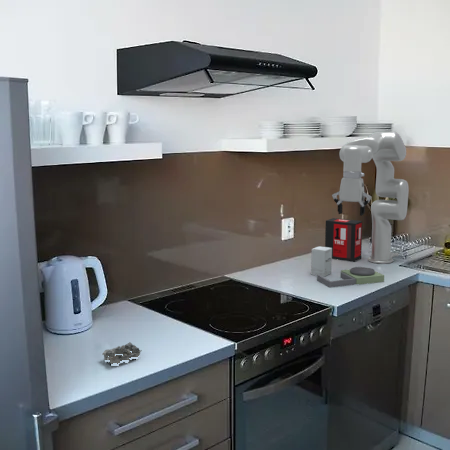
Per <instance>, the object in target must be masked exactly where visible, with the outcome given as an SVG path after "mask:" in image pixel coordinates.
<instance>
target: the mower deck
mask: <svg viewBox="0 0 450 450" xmlns="http://www.w3.org/2000/svg"><path fill="white" fill-rule="evenodd" d="M340 278H341V279H338V280H337V279H335V280H329V279H328V278H326V277H322V276H321V275H316V281H318V282H319V283H321V284H323V285H324V286H327V287H328V288H338V287H345V286H353V285H354V284H359V285H366V284H367V283H368V284H376V283H384V282H385V275H384V274H382V273H380V272H377V271H376V270H375V269H373V268H371V267H365V266H364V267H363V266H358V267H357V266H355V267H351V268H350V269H342V270H340Z"/></svg>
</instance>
